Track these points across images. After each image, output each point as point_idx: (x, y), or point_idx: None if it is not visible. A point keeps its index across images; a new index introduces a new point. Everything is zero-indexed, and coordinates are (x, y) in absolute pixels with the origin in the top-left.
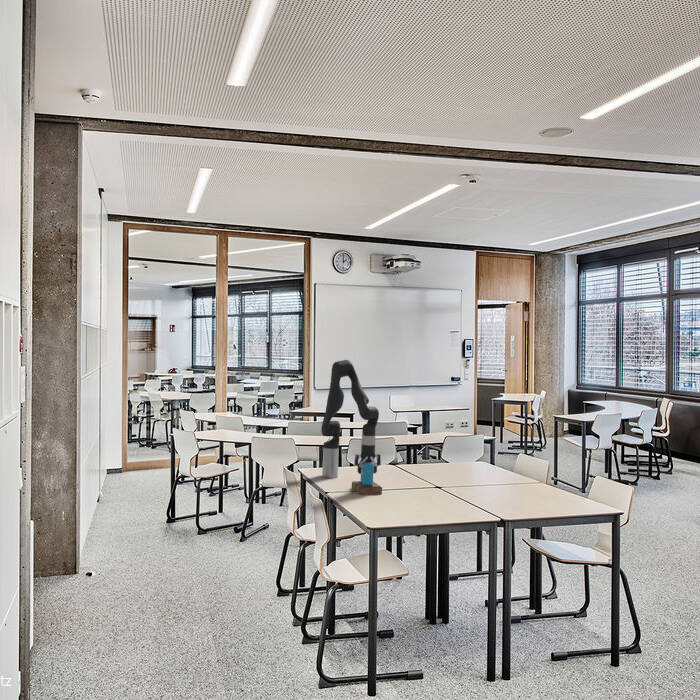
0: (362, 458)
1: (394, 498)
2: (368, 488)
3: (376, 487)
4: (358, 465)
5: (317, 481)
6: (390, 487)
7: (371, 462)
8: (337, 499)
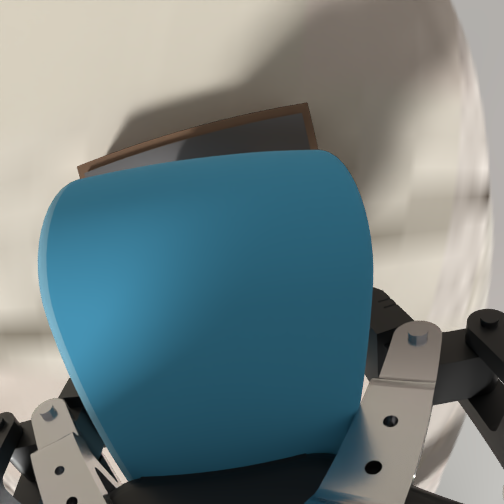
0: (450, 501)
1: (37, 45)
2: (220, 121)
3: (131, 146)
4: (443, 344)
5: (452, 425)
6: (57, 378)
7: (114, 430)
8: (447, 5)
